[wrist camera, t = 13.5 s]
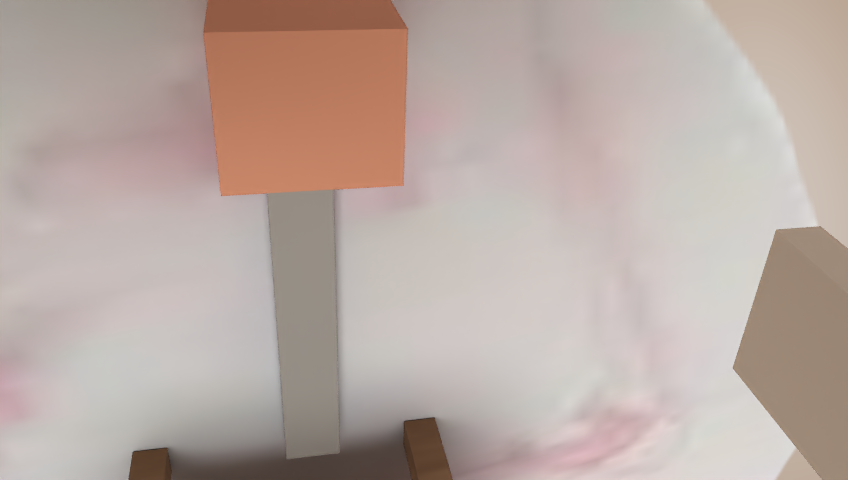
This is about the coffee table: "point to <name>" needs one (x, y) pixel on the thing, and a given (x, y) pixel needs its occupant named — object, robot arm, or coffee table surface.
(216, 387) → the coffee table surface
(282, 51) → the orange-headed mallet
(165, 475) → the cabinet
